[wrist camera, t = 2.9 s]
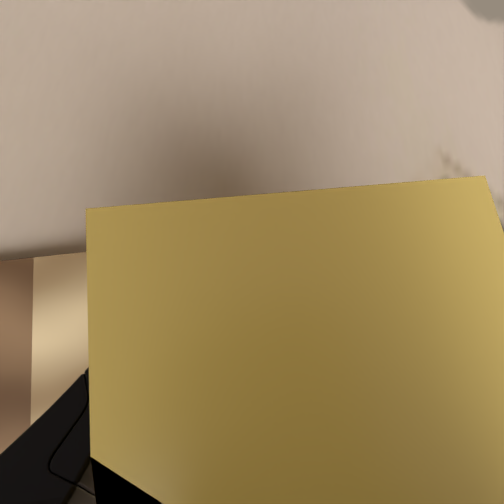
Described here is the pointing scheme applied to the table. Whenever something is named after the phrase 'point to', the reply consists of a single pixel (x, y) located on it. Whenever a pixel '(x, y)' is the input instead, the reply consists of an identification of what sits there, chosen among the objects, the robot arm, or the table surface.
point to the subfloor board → (40, 336)
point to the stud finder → (299, 347)
